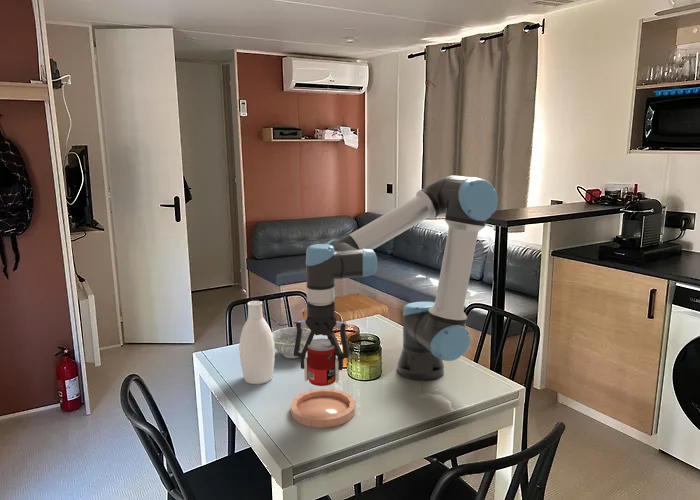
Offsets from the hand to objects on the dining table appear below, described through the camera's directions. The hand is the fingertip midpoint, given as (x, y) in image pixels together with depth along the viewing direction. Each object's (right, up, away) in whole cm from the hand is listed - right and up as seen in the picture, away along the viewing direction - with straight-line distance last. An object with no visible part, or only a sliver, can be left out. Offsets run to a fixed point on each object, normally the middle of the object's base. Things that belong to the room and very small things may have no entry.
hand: (322, 379), depth 150 cm
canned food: (0, 0, 0) cm, 0 cm away
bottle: (-22, -5, +23) cm, 32 cm away
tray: (0, -9, +2) cm, 9 cm away
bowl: (-13, -1, +42) cm, 44 cm away
